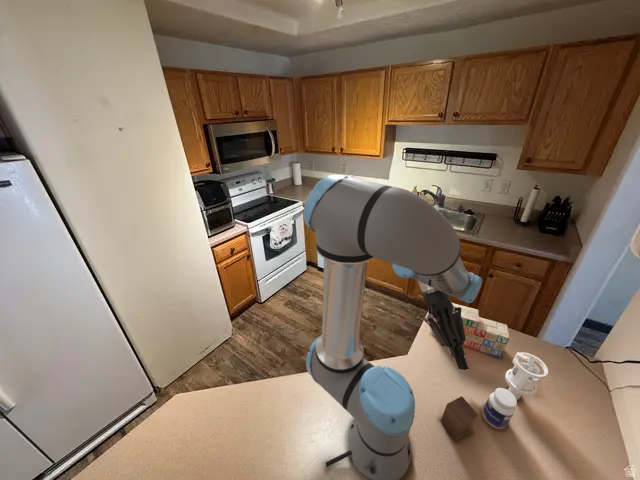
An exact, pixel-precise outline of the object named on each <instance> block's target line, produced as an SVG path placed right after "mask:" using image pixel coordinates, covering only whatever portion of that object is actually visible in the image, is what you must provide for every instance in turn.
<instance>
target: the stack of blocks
mask: <svg viewBox="0 0 640 480" xmlns="http://www.w3.org/2000/svg"><path fill="white" fill-rule="evenodd" d="M451 303H452V304H453V306H455V307H460V308H461V309H462V310H461V317H462V322H463V327H464V332H465V337H466V340H465V341H463V342H464V345H463V346H465V347H467V348H471V349H473V350H477V351H480V352H482V353H486V354H489V355H491V356H495V357H498V358H501V357H502V355H503V353H504V351H505V349H506V347H507V344H508V342H509V340H510V334H509V328H508V324H505V323H501V322H498V321H495V320H492V319H487V318H484V317H480V315H479V312H480V311H479V309H476V308H472V307H469V306H465V305H461V304H457V303H455V302H451ZM434 319H435V318H434ZM435 322H436V323H437V321H436V319H435ZM438 326H439V325H438ZM439 328H440V327H439ZM431 335H432V336H433V337H436V336H435V334H434V333H433V332H432V334H431Z"/></svg>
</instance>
